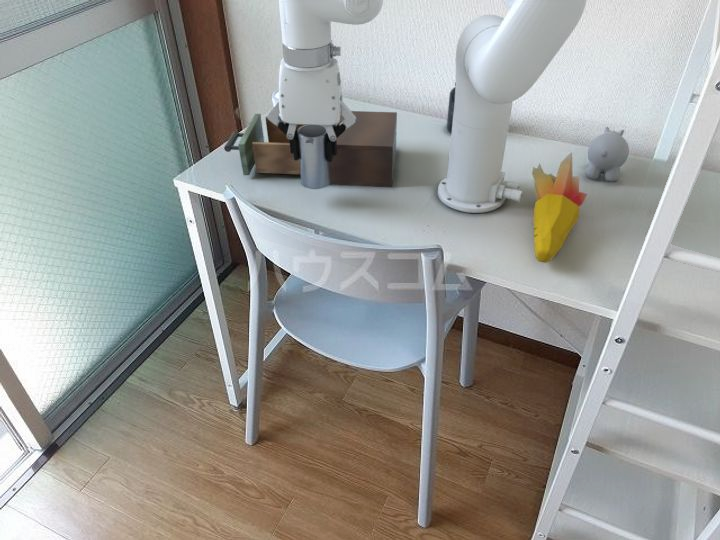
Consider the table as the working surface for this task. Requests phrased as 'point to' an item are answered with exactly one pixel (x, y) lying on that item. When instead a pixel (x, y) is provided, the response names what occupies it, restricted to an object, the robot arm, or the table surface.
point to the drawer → (264, 149)
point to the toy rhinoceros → (607, 155)
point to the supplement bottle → (451, 109)
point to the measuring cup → (313, 156)
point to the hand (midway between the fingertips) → (314, 156)
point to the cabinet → (366, 151)
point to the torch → (555, 208)
